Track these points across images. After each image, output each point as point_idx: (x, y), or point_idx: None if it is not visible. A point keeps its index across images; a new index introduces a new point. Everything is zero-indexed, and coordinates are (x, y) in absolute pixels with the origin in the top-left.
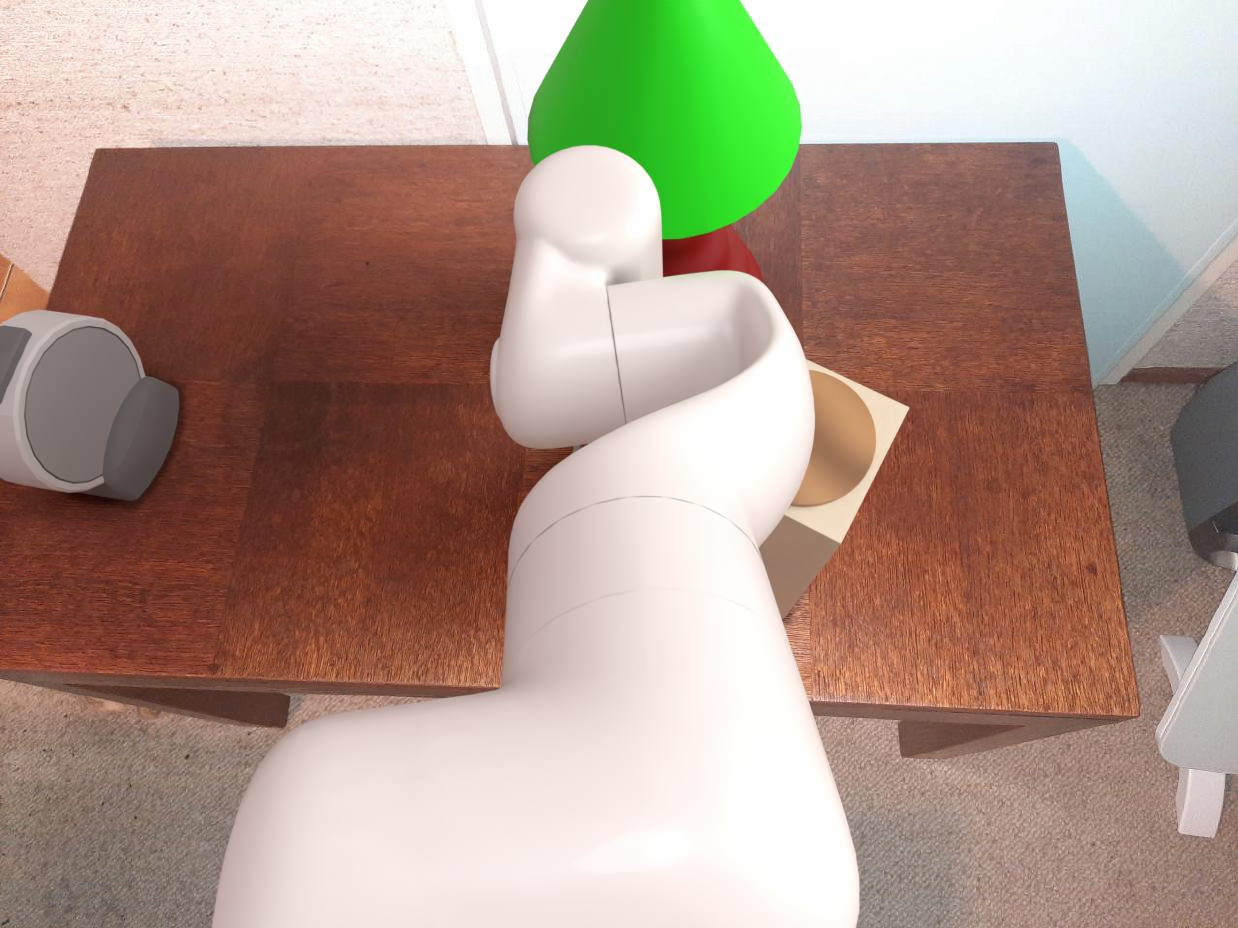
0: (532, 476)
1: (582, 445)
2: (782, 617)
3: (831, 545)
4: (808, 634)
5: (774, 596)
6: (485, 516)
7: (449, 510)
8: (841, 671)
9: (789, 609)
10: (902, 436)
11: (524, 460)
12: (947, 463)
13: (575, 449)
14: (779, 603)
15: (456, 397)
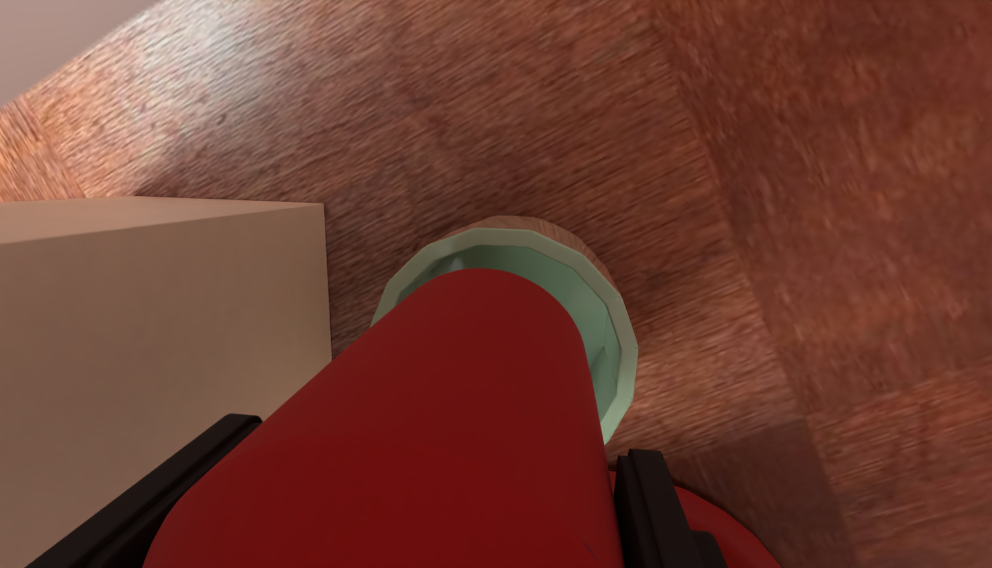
0: (707, 232)
1: (538, 389)
2: (122, 196)
3: None
4: (84, 191)
5: (9, 205)
6: (773, 93)
7: (873, 61)
8: (10, 158)
9: (19, 201)
10: None
11: (742, 258)
12: None
13: (627, 333)
14: (35, 202)
15: (977, 327)
